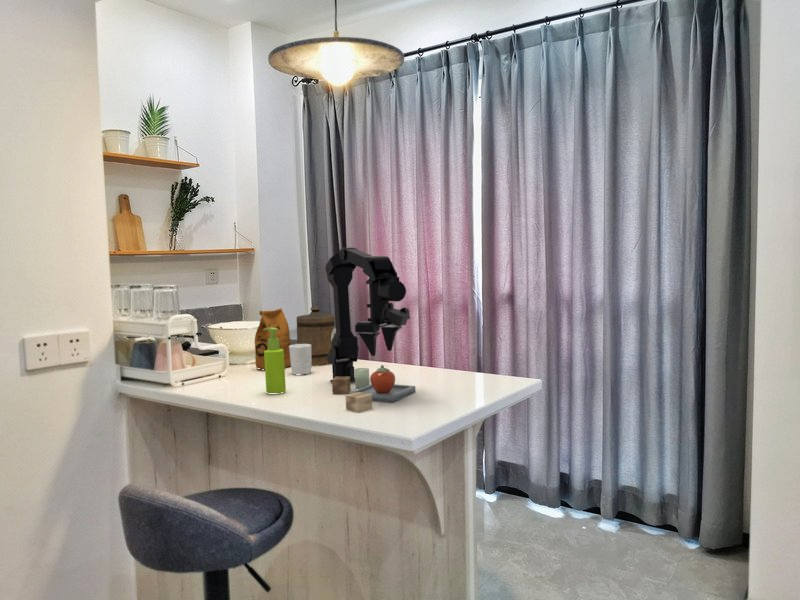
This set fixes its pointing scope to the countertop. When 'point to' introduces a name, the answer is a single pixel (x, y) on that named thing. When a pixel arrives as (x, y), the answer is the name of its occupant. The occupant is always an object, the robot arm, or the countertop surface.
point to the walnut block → (341, 385)
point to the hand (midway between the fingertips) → (381, 353)
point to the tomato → (382, 380)
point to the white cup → (300, 358)
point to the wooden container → (316, 334)
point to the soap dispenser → (274, 364)
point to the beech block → (358, 402)
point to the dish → (389, 397)
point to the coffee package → (262, 336)
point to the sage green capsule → (361, 377)
